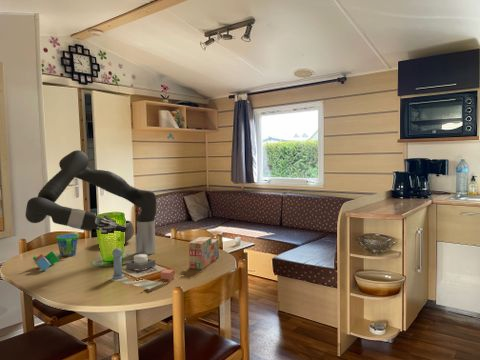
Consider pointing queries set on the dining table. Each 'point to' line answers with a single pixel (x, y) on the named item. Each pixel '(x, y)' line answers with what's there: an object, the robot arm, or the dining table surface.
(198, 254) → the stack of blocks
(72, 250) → the snack cup
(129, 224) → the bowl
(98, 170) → the robot arm
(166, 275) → the die
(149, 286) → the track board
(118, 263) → the pawn
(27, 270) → the dining table surface
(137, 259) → the white rounded block
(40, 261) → the building blocks
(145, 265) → the popper housing
